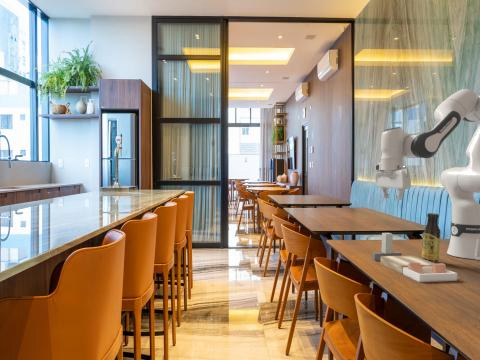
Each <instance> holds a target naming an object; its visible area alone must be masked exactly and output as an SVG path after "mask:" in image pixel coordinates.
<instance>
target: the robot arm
mask: <svg viewBox="0 0 480 360" xmlns="http://www.w3.org/2000/svg"><path fill="white" fill-rule="evenodd" d="M433 118H434V120H435V122H436V123H437V124H435V126H434V127H432V129H431V130H429V131H428V132H422V133H418V134H411V133H408V131H407V132H406V131H405V130H403V128H402V127H400V126H396V127H392V128H387V129H384V130H383V131H382V133H381V139H380V151H381V156H380V162H378V163H376V164H375V165H374V171H375V173H374V175H375V177H374V179H375V187H377V188H381V192H382V195H383V198H384V199H388V198H390V195H389V194H390V193H388V189H396V190H397V194H396V196H395V197H396V198H395V199H396V200H397V201H401V200H403V195H404V193H405V190H410V189H411V187H412V181H411V174H410V171H409V168H408V167H407V166H406V165H405V163H404V161H405V160H404V159H418V158H420V159H431V158H432V157H434V156H435V155H436V154H437V153H438V152H439V150H440V148H441V145H442V144H443V142H444V141H445V140H446V139H447V138H448V137H449V136H450V135H451V133H453V132H454V130H455V129H456V128H458V126H459V125H460V123H461V121H462V120H463V121H464V122H469V123H472V122H474V123H475V122H477V129H475V132H474V133H473V135H472V137H471V139H470V141H469V144H468V146H467V147H466V149H465V155H466V156H467V158H468V160H469V163H468V165H467V166H455V167H451V168H450V167H449V168H447V169H444V170H443V171H442V172H441V175H440V183H441V185H442V187H443V188H445V190H446V192H447V193H448V196H449V200H450V201H451V202H450V203H451V222H450V240H449V244H448V248H447V251H446V253H447V254H448V255H449V256H453V257H456V258H457V257H458V258H463V259H470V260H476V261H477V260H478V261H480V203H479V202H478V201H477V200H476V198H475V196H474V193H477V194H478V193H479V194H480V95H477V93H476V92H475V91H474V90H472V89H471V88H462V89H459V90H457V91H456V92H454V93H452V94H451V95H449V96H448V97H446V98H445V99H444V100H443V101H442V102H441V103H439V104H438V105H437V107H436V109H435V110H434V113H433Z"/></svg>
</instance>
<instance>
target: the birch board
mask: <svg viewBox="0 0 480 360" xmlns="http://www.w3.org/2000/svg"><path fill="white" fill-rule="evenodd" d="M379 262H380V265H381V266H384V267H386V268H388V269H391V270H392V271H395V272H396V273H399V274H400V275H403V267H408V266H407V265H408V264H409V263H420V265H421V267H430V266H432V264H436V263H432V262H429V261H427V260H424V259H422V257H418V256H416V255H401V256H381V261H379Z"/></svg>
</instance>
